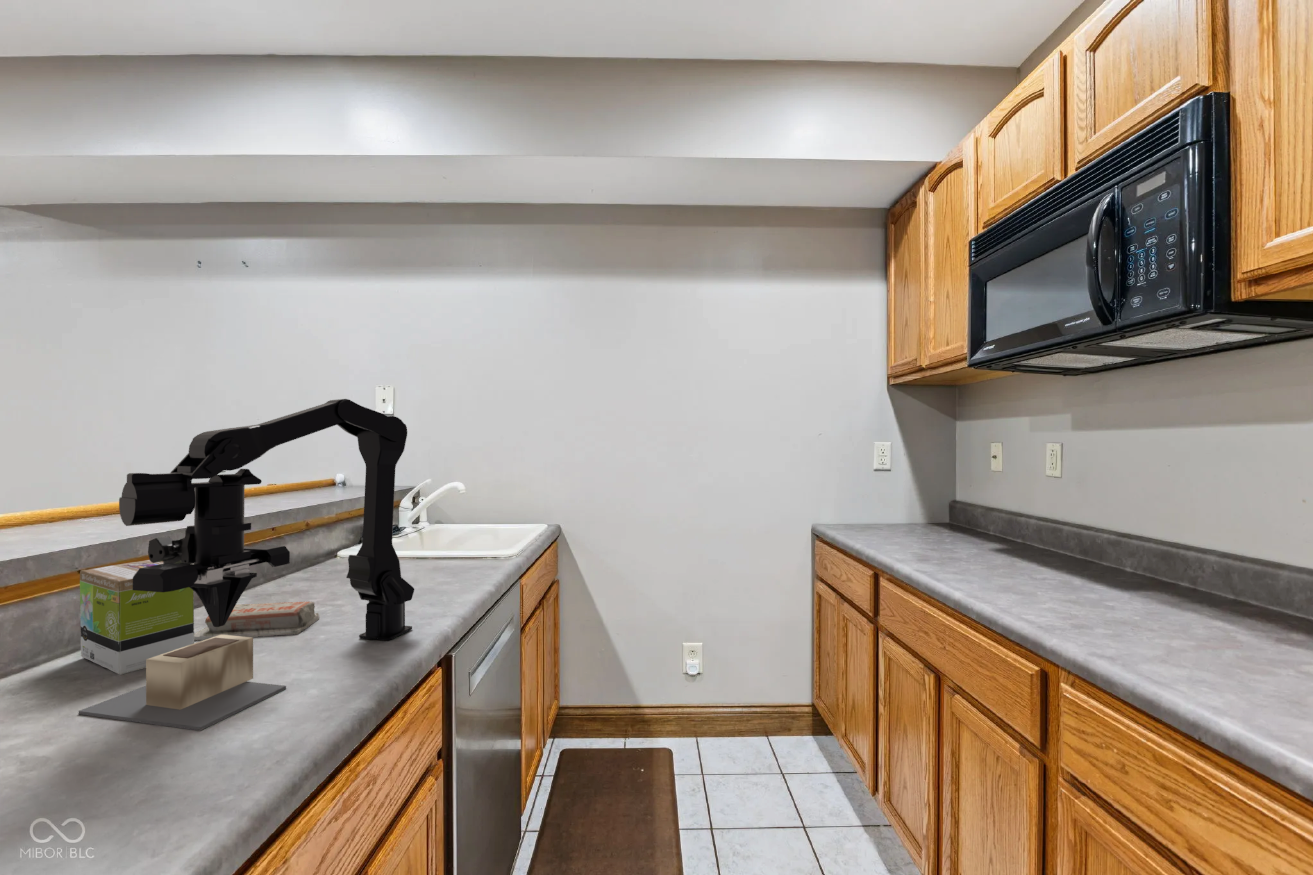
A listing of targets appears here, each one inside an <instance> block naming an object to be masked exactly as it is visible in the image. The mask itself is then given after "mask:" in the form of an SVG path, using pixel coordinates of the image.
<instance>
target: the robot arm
mask: <svg viewBox="0 0 1313 875" xmlns="http://www.w3.org/2000/svg"><path fill="white" fill-rule="evenodd" d="M334 426H338V427H339V428H340V429H342V430H343V431H344V432H345V433H347V434H350V435H352V436H354V437H356V439H357V443H358V444H357V445H358V451H359V453H360V455H361V458H362V459H363V463H364V464H365V480H364V485H365V486H364V500H363V501H364V504H363V524H362V526H363V527H362V543H361V546H360V548H359V550H358V552H357V554H354V555H353V554H350V555H348V558H347V561H348V562H347V563H348V572H347V575H346V579H349V583H350V585H351V586H350V587H351V588H353V589H354V590H355V591H356V592H357V593H358V596H359V598H360V600H362V601H367V602H368V603H366V613H365V632H363V633H360V634H359V635H358V638H359V639H368V640H369V639H370V640H379V641H381V640H382V641H390V640H394V639H395V638H397V637H399V636H401V635H403V634H405V633H407V632H409V631H411V630H413V626H412V625H406V602H410V601H412V600H413V595H414V593H415V587H413V586H412V585H411V584H410V583H409V582H408V581H407V580H405V579H404V578H403V577H402V572H401V564H400V558H399V557H398V554H397V552H396V550H395V547H394V545H393V535H394V534H393V532H394V531H393V530H394V525H393V524H394V510H395V509H394V508H395V506H394V505H395V489H396V488H395V485H396V484H395V483H396V467H397V464H398V462H399V461H400V459H401V457H402V455H403V453H404V451H405V447H406V442H407V438H408V427H407V425H406V423H404V421H403V420H402V419H401V418H399V417H398V416H394V415H390V416H389V415H386V414H384V413H382V412H379V411H376V410H373V409H371V408H368V407H367V406H366V407H365V406H362V405H360V404H358V403H357V402H354V401H353V400H351V399H349V398H340V399H332V400H331V399H330V400H328V401H326V402H324V403H322V404H320V405H319V404H318V405H315V406H313V407H309V408H306V409H303V410H300V411H297V412H293V413H290V414H287V415H284V416H280V417H277V418H274V419H271V420H268V421H263V422H261V423H258V424H252V425H245V426H238V427H229V428H221V429H215V430H214V429H213V430H208V431H202V432H200V433H199V434H197V435H195V436H194V437H193V438H192V440H191V442H190V444H189V446H188V453H186V455H185V456H184V458H182V459H181V460H180V462H178V463H177V465H175V467H174V468H173V469H172V470H171V471H170V472H169V473H167V472H166V473H146V472H145V473H144V472H143V473H142V472H130V473H127V474H126V482H125V484H124V486H123V488H122V492H121V496H120V497H119V499H118V505H119V506H118V507H119V515H120V519H121V522H122V524H124V526H126V527H132V526H139V525H141V526H142V525H152V524H163V523H172V522H182V521H184V519H185V518H186V516H187V515H191V514H192V513H193V511H194V514H193V515H194V517H193V518H194V519H193V524H194V525H187V526H186V528H185V533H184V534H185V536H184V537H183V538H179V539H174V540H173V538H171V536H163V537H155V538H153V539H150V540H149V541H148V547H147V548H148V549H147V555H148V558H149V559H148V560H150V561H151V562H152V563H156V562H161V561H162V562H163V563H164V564H159V565H154V566H148V567H143V568H139V570H138V571H137V572H136V573H135V575H134V576H133V590H137V591H152V592H170V591H175V590H179V589H183V588H188V587H190V588H191V589H192V590H193V591H194V592H195V594H196V595H197V596H198V598H199V600H200V601H201V603H202V604H203V607H204V609H205V611H206V613H207V615H208V616H209V618H210V620H211V622H212V624H213V626H214V627H221V626H224V625H225V623H226V622H227V620H228V618H229V616H230V614H231V612H232V611H233V609H234V607H235V605H237V603H238V601H239V599H240V598H241V597H242V595H243V593H244V592H245V590H246V588H247V587H248V586H249V584H250V582H252V579H254V578H257V577H258V573H257V572H251V568H250V566H255V565H259V564H263V563H267V564H268V565H269V566H271V567H272V568H273V567H274V568H277V567H281V566H285V565H289V564H290V563H291V557H290V556H291V554H290V553H291V552H290V551H289V549H288V548H287V546H286V545H273V544H270V545H269V544H268V545H267V544H261V545H256V546H250V547H246V548H245V531H251V530H252V522H245V487H246V486H248V485H250V486H252V485H260V484H262V479H261V478H259V477H258V476H256V475H255V474H254V473H252V471H251V470H250V469H248V468H243V467H244V466H246V465H249V464H250V463H252V462H254V461H256V460H258V459H259V458H260V457H262V456H264V455H265V454H266V453H267V452H269V450H270V451H271V449H274V448H276V447H278V446H281V445H283V444H285V443H289V442H292V441H295V440H297V439H300V438H304V437H305V436H309V435H311V434H314V433H317V432H320V431H323V430H325V429H329V428H331V427H334ZM234 470H238V471H236V472H235V473H230V474H229V473H227V474H225V473H224V474H220V473H223V472H224V471H229V472H230V471H234ZM202 479H208V481H204V482H193V480H202ZM208 616H207V617H208Z"/></svg>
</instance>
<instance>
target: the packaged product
mask: <svg viewBox="0 0 1313 875" xmlns="http://www.w3.org/2000/svg"><path fill="white" fill-rule="evenodd" d="M315 608H316V606H315V602H314V601H293V602H289V601H287V602H285V601H284V602H267V603H247V604H244V603H243V604H242V603H241V604H236V605H235V607H234V609H233V611H232V612H231V614H230V616H229V618H228V620H227V622H226V623H225V625H224V626H221V627H214V626H213V624H212V622H211V620H210V618H209V616H207V617H206V618H205V622H204V623H205V624H206V627H204V628H203V629H202V628H201V629H200V630H198V631H197V632H194V642H195V641H197V642H198V641H203V640H206V639H209V638H212V637H215V636H218V635H221V634H222V635H233V636H243V637H253V638H259V637H258V636H263V637H272V636H273V637H274V635H276V636H286V635H287V636H288V635H289V636H291V635H293V634H294V635H299V634H301V633H302V632H304V631H305V630H306V629H307V628H309V627H310V626H312V625H313V624H314V623H316V622H317V621H318V620H320V618H321V617H320V614H319V612H316V613H315ZM316 620H317V621H316ZM315 621H316V622H315ZM304 629H305V630H304ZM301 631H302V632H301Z"/></svg>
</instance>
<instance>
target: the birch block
mask: <svg viewBox="0 0 1313 875" xmlns="http://www.w3.org/2000/svg"><path fill="white" fill-rule="evenodd" d="M145 677H146V678H145V681H146V682H145V686H146V705H151V706H158V707H165V708H172V709H179V710H181V709H183V708H186V707H188V706H190V705H193V704H195V703H197V702H200V701H202V700H204V699H207V698H209V697H211V696H214V695H216V694H218V693H221V692H223V691H225V690H228V689H230V688H232V687H235V686H237V685H239V684H242V683H244V682H246V681H247V682H249V681H250V680H253V679H254V637H243V636H233V635H222V634H221V635H218V636H215V637H212V638H209V639H206V640H199V641H197V642H194V644H191V645H188V646H185V647H182V648H179V649H176V650H173V651H170V652H167V653H164V654H161V655H158V656H155V657H152V658H149V659H146V668H145Z"/></svg>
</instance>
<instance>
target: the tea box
mask: <svg viewBox="0 0 1313 875" xmlns="http://www.w3.org/2000/svg"><path fill="white" fill-rule="evenodd" d="M159 564H164V563H163V561H161V562H156V563H152V562H151V561H150V559H146V560H140V561H139V560H138V561H132V562H127V563H126V562H125V563H121V564H120V563H119V564H114V565H113V564H112V565H108V566H102V567H97V568H96V567H95V568H90V569H83V570H82V569H81V570H80V571H79V595H80V596H79V597H80V598H79V611H80V612H79V613H80V621H79V622H80V656H81V657H82V659H83V658H84V659H86V660H89V661H91V662H93V663H94V664H97V665H99V666H101V667H102V668H106V669H108V670H109V671H111V672H114V673H115V674H117V675H119V676H121V675H124V674H127V673H128V674H129V673H132V672H136V671H138V670H143V669H146V659H149V658H152V657H155V656H158V655H161V654H164V653H167V652H170V651H173V650H176V649H179V648H182V647H185V646H188V645H191V644H194V643H195V641H194V634H195V616H194V615H195V611H194V607H195V605H194V604H195V603H194V602H195V601H194V600H195V599H194V597H195V596H194V592H195V591H193V590H192V589H191V588H190V587H188V588H183V589H179V590H175V591H170V592H152V591H137V590H133V576H134V575H135V573H136V572H137V571H138V570H139V568H143V567H148V566H154V565H159Z"/></svg>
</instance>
